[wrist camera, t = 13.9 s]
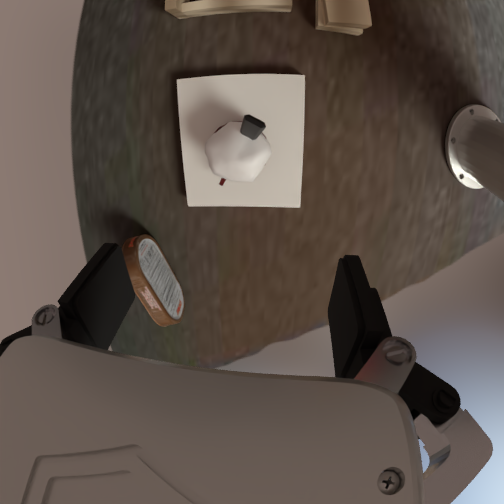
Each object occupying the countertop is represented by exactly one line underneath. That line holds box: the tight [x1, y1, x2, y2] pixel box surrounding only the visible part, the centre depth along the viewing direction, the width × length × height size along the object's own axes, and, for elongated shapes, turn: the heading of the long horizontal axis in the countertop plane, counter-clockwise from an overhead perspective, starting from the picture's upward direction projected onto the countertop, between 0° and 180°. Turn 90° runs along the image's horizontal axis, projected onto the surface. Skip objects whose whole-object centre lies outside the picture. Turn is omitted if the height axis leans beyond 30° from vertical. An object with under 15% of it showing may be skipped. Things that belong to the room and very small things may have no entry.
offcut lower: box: [316, 0, 363, 36], centre depth 20 cm, size 5×8×2 cm, turn 179°
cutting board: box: [177, 74, 305, 208], centre depth 31 cm, size 14×16×2 cm
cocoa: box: [205, 114, 272, 186], centre depth 25 cm, size 10×6×12 cm, turn 130°
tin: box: [122, 234, 185, 326], centre depth 40 cm, size 15×3×8 cm, turn 17°
